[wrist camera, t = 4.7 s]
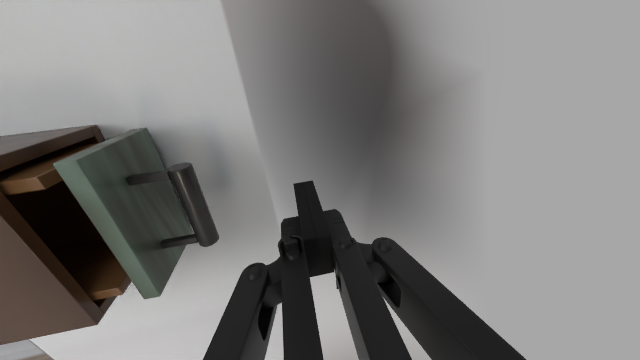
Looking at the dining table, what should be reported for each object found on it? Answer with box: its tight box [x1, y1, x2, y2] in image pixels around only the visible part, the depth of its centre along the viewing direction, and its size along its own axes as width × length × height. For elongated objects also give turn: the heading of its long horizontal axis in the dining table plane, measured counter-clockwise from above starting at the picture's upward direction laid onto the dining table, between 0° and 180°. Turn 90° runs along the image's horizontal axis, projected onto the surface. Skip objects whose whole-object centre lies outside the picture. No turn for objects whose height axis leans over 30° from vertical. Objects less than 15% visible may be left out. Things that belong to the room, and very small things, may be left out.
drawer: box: [0, 128, 219, 300], centre depth 18 cm, size 18×11×8 cm, turn 95°
